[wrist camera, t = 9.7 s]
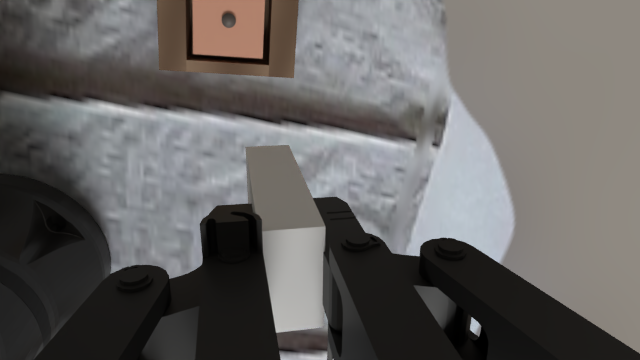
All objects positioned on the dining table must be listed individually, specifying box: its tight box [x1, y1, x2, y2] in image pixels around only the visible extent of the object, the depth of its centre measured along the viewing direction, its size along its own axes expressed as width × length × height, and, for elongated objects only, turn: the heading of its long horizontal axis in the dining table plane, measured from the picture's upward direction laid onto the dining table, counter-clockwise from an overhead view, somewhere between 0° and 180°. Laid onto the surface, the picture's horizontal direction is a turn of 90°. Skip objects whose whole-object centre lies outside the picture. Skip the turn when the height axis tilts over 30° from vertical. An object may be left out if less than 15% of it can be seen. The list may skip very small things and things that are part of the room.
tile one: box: [193, 0, 265, 59], centre depth 32 cm, size 4×4×3 cm
